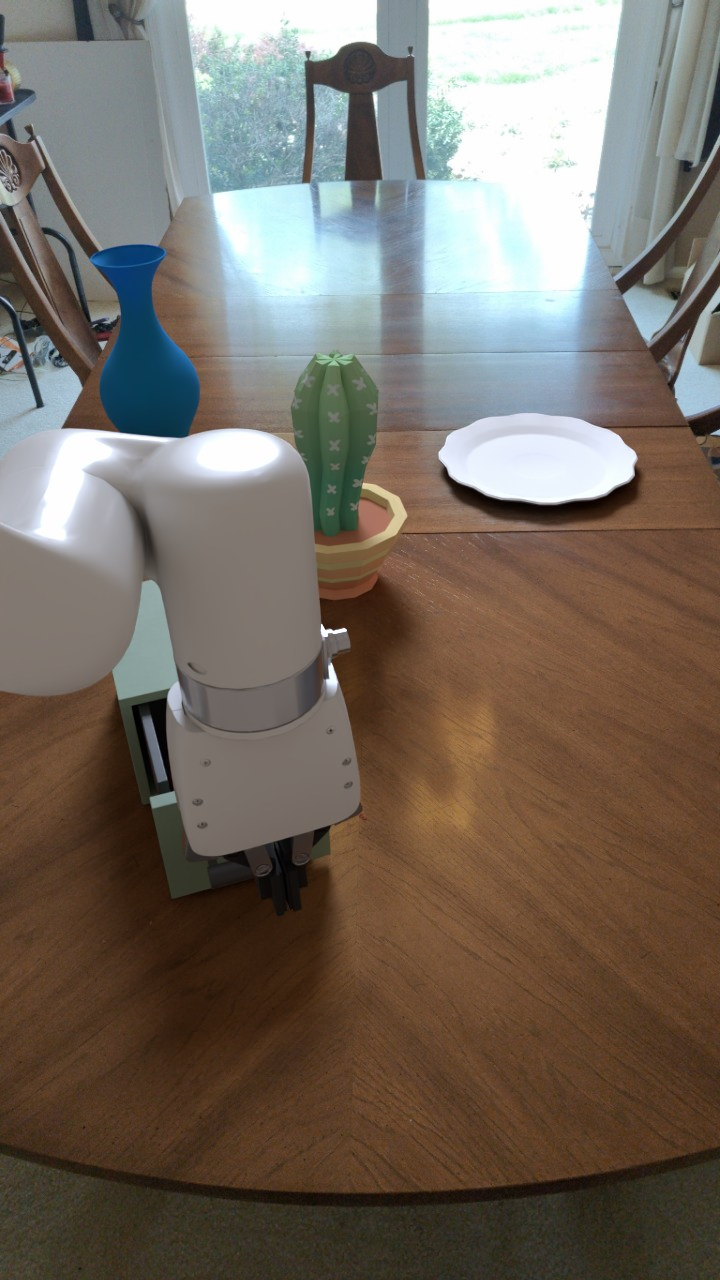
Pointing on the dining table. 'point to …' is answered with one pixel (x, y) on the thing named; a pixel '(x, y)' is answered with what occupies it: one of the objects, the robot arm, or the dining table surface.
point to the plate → (538, 459)
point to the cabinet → (145, 678)
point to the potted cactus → (343, 474)
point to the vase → (144, 353)
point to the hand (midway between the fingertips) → (283, 895)
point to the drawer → (170, 824)
